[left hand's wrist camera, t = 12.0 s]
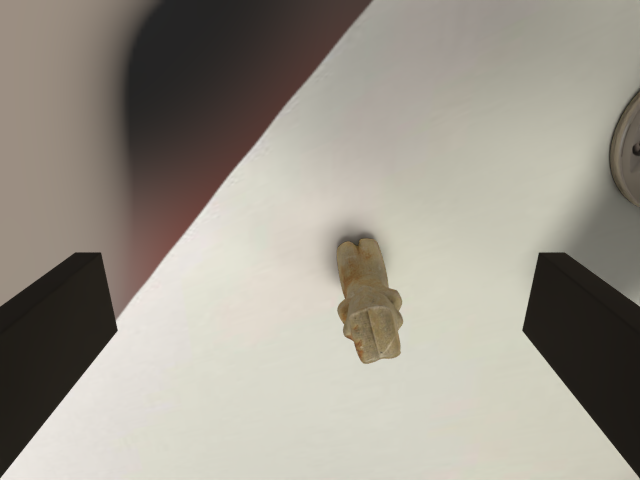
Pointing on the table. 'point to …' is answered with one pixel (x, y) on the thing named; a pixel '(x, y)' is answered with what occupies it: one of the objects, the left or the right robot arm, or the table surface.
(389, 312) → the sculpture
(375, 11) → the table surface
